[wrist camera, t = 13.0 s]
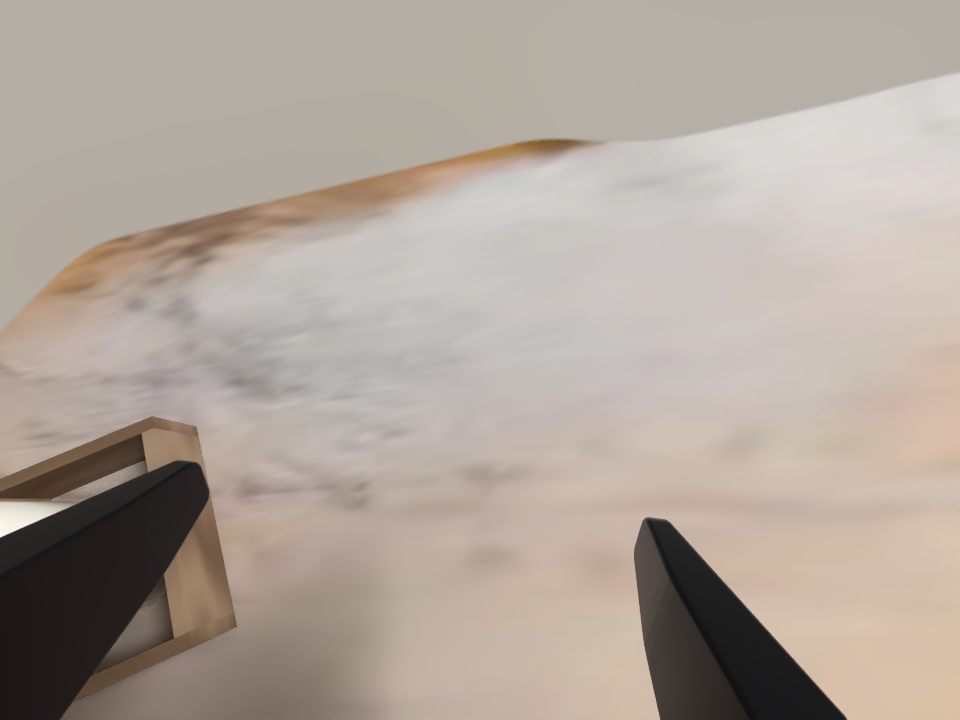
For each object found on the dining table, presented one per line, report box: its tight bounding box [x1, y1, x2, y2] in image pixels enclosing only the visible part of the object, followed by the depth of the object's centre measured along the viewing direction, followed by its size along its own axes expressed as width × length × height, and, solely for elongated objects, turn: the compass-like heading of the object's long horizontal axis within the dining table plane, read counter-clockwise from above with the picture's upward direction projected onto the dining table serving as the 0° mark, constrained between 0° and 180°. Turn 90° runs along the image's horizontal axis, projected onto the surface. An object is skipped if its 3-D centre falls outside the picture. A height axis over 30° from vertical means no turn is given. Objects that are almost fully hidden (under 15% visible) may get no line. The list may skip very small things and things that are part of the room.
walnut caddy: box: [0, 416, 237, 702], centre depth 19 cm, size 10×18×3 cm, turn 113°
